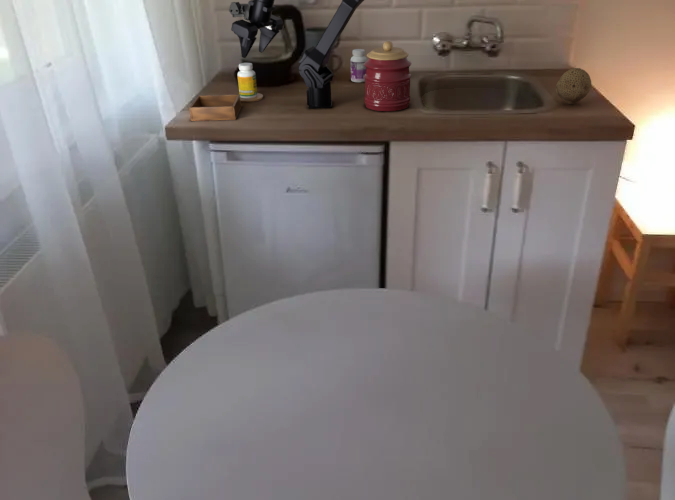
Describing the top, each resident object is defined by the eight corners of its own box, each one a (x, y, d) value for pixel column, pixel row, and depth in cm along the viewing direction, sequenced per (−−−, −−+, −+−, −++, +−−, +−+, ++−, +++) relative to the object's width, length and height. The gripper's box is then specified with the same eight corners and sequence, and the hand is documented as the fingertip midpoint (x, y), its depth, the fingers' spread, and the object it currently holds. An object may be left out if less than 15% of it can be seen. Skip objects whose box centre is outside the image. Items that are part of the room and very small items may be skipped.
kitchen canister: (395, 96, 185) (396, 34, 176) (418, 107, 175) (421, 42, 166) (356, 103, 180) (355, 39, 172) (377, 114, 170) (378, 48, 161)
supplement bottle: (240, 94, 190) (236, 62, 186) (257, 93, 191) (254, 61, 186) (239, 99, 186) (235, 66, 181) (257, 98, 186) (254, 65, 181)
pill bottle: (348, 79, 205) (348, 49, 200) (363, 77, 206) (363, 47, 201) (353, 83, 200) (353, 52, 195) (369, 81, 201) (369, 50, 197)
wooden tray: (241, 106, 181) (240, 94, 179) (235, 119, 170) (234, 106, 168) (199, 107, 181) (197, 95, 179) (190, 120, 170) (188, 107, 168)
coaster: (264, 93, 192) (264, 92, 192) (261, 101, 184) (261, 100, 184) (235, 94, 192) (235, 92, 192) (231, 102, 185) (231, 101, 184)
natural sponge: (589, 110, 169) (596, 72, 164) (555, 108, 171) (560, 71, 166) (586, 100, 176) (592, 64, 171) (553, 99, 178) (558, 63, 173)
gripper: (256, -14, 179) (246, 39, 188) (219, -8, 164) (210, 49, 173) (289, 0, 177) (277, 53, 186) (255, 7, 162) (243, 65, 171)
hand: (252, 54), depth 179 cm, fingers open, 9 cm apart
